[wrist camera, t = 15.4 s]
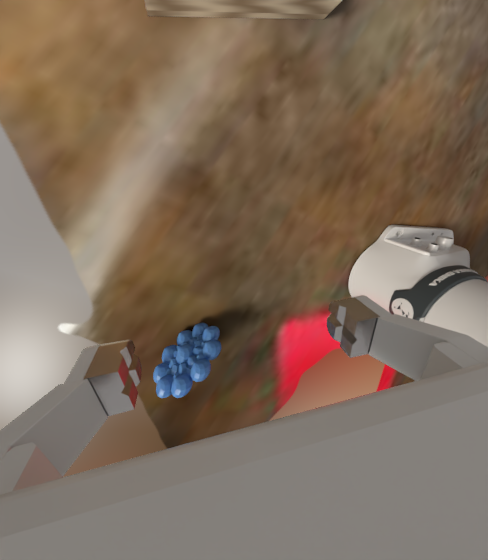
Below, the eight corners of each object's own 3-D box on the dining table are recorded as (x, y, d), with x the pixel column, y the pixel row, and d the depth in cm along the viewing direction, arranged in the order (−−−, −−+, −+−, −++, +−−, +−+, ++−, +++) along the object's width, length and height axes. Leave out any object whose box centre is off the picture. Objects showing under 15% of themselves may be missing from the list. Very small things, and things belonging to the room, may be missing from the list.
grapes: (172, 362, 43) (169, 426, 32) (149, 339, 39) (138, 403, 29) (227, 331, 43) (242, 386, 32) (208, 306, 39) (219, 358, 29)
